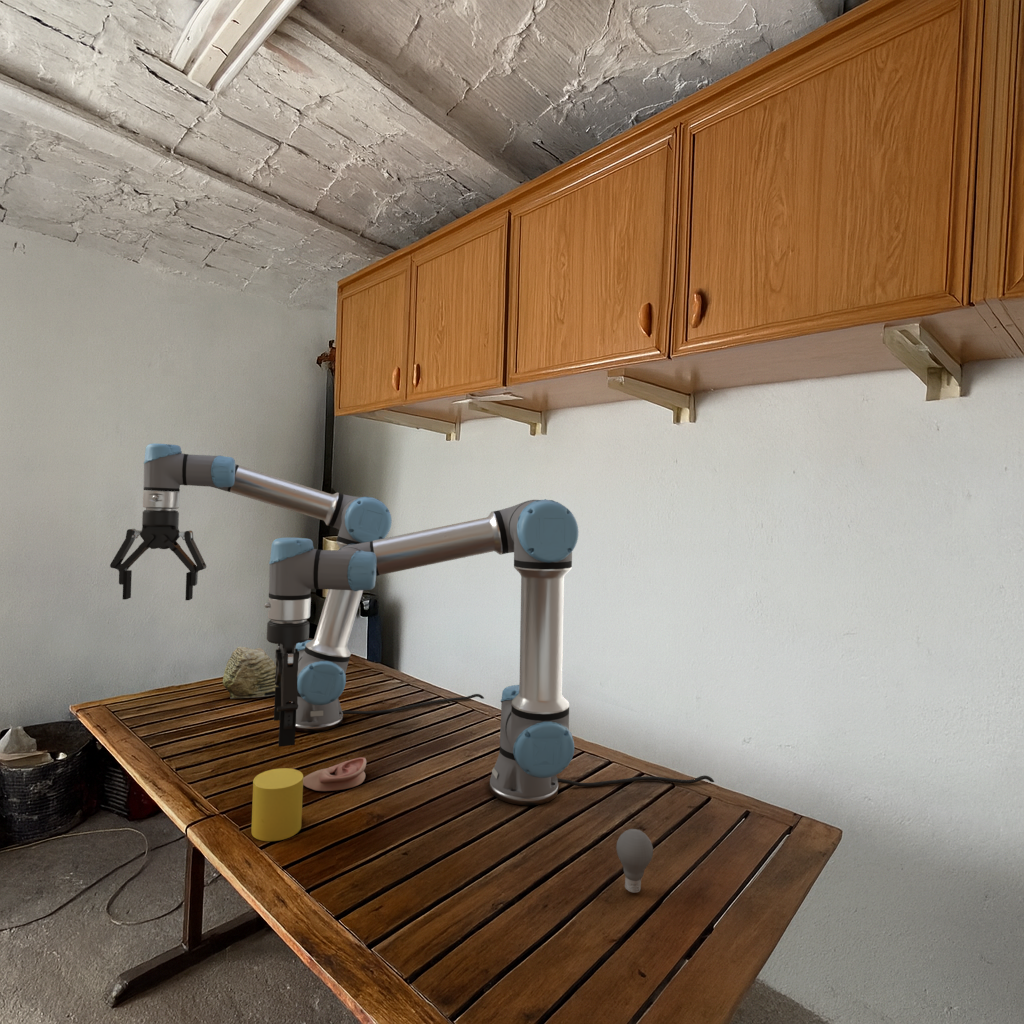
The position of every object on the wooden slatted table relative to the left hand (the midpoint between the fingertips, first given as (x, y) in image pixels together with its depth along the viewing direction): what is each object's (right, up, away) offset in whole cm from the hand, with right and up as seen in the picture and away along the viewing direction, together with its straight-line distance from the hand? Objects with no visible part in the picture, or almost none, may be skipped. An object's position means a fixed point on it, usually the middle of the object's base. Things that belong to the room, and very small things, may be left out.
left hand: (158, 599), depth 150 cm
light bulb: (+104, -43, -44) cm, 121 cm away
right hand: (+41, -21, -30) cm, 55 cm away
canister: (+39, -40, -30) cm, 63 cm away
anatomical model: (+44, -39, -9) cm, 60 cm away
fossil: (+3, -37, +48) cm, 61 cm away
